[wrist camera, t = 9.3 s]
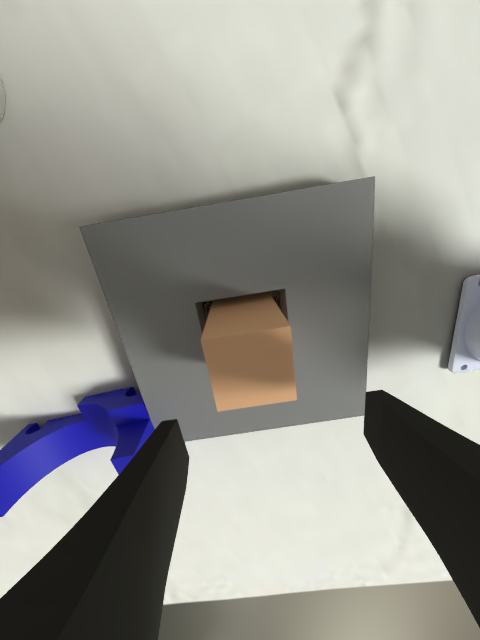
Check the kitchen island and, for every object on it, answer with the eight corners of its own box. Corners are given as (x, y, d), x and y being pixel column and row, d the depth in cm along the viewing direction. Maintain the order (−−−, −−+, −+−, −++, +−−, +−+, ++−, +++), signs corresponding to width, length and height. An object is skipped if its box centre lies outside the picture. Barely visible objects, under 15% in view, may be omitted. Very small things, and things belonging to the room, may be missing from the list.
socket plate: (351, 186, 14) (374, 176, 12) (349, 394, 20) (365, 415, 18) (103, 228, 15) (79, 226, 12) (168, 420, 20) (159, 445, 18)
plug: (267, 290, 17) (290, 325, 10) (273, 340, 18) (297, 400, 11) (213, 299, 17) (200, 339, 10) (223, 348, 18) (217, 411, 12)
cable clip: (155, 379, 19) (123, 437, 14) (172, 420, 21) (150, 487, 15) (23, 407, 20) (-60, 474, 14) (48, 445, 21) (-18, 520, 16)
